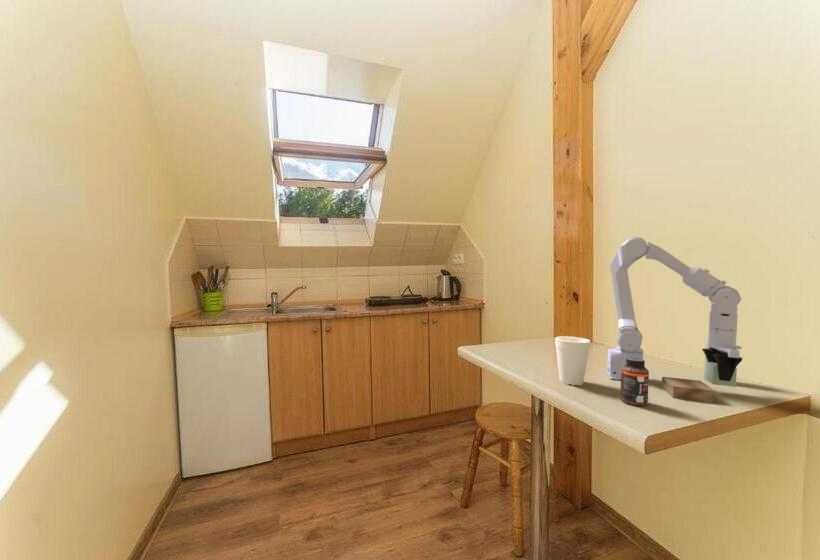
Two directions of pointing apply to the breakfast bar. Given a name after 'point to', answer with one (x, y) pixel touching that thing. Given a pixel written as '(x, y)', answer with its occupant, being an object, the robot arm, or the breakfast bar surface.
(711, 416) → the breakfast bar surface
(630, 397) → the supplement bottle
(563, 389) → the breakfast bar surface
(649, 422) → the breakfast bar surface
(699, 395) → the walnut block
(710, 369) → the grey-green cube
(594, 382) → the breakfast bar surface
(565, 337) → the foam cup
